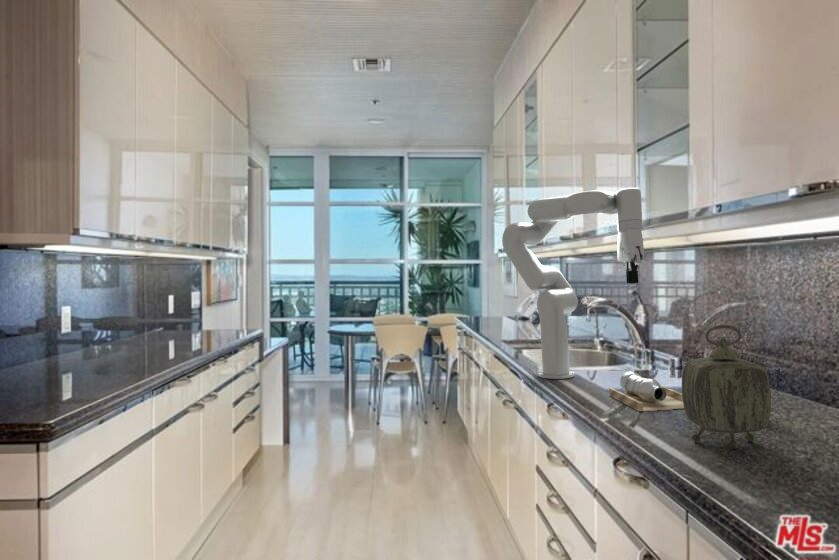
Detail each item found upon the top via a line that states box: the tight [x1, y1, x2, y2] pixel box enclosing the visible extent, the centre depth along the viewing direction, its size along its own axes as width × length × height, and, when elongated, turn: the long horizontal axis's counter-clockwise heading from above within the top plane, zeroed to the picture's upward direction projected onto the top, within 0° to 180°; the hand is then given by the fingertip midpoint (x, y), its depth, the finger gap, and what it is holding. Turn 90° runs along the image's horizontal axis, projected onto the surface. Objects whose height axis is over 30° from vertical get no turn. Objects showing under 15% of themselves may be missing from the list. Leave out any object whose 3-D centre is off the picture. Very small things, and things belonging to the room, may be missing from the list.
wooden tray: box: [608, 384, 685, 412], centre depth 150 cm, size 20×16×2 cm
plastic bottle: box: [619, 371, 667, 403], centre depth 152 cm, size 6×7×20 cm
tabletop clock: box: [681, 324, 772, 450], centre depth 110 cm, size 14×9×25 cm, turn 83°
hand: (632, 283), depth 172 cm, fingers closed
